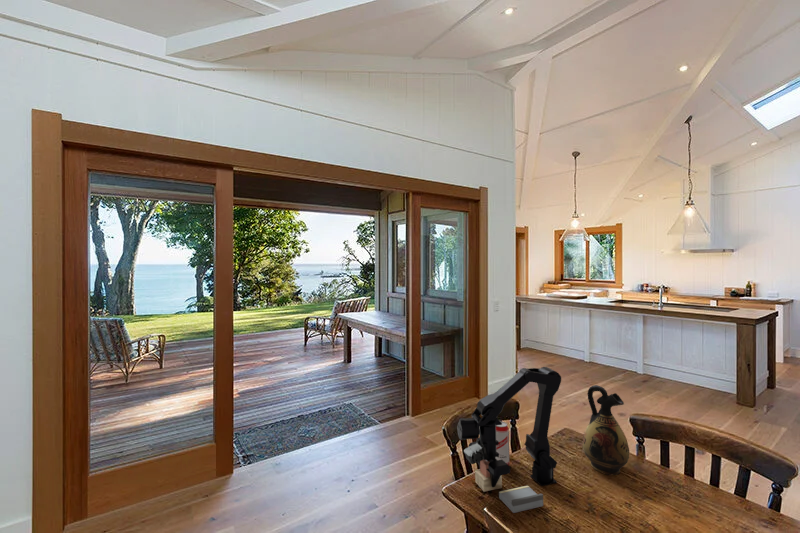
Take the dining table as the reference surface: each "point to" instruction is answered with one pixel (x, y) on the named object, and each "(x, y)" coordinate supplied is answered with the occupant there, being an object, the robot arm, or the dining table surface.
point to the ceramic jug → (605, 435)
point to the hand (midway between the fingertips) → (488, 481)
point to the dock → (521, 499)
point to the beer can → (502, 442)
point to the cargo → (484, 468)
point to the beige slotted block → (486, 482)
